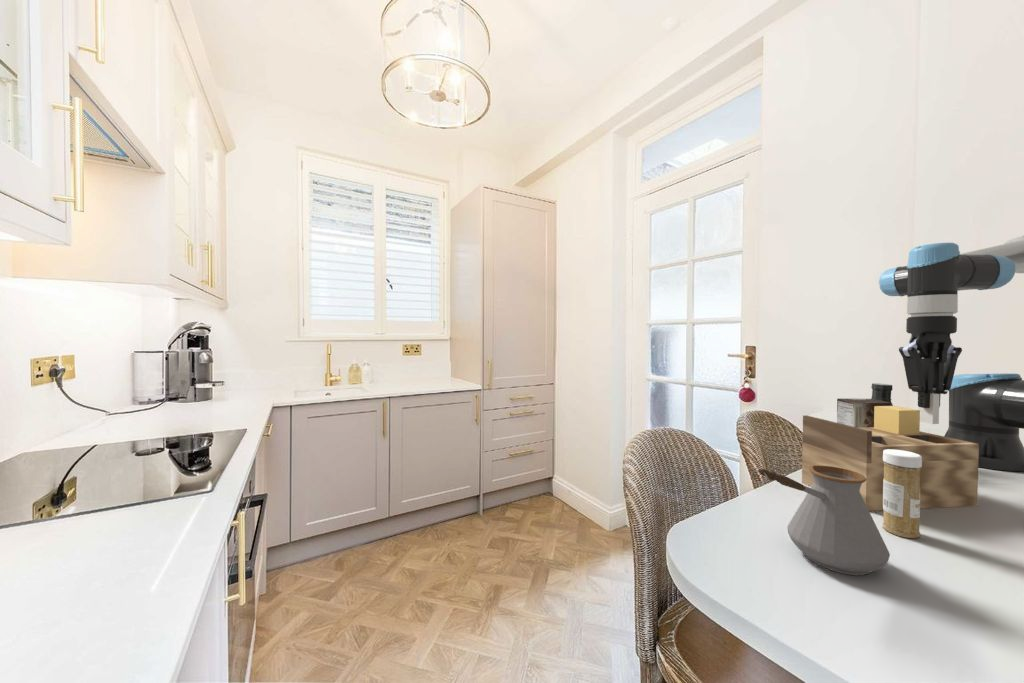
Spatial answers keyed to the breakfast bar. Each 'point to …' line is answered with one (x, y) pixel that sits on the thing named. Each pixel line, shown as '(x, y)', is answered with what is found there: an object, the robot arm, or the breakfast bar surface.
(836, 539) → the coffee pot
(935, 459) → the box
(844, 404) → the coffee box
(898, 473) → the sprinkles bottle
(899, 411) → the ochre block
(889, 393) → the sauce bottle
